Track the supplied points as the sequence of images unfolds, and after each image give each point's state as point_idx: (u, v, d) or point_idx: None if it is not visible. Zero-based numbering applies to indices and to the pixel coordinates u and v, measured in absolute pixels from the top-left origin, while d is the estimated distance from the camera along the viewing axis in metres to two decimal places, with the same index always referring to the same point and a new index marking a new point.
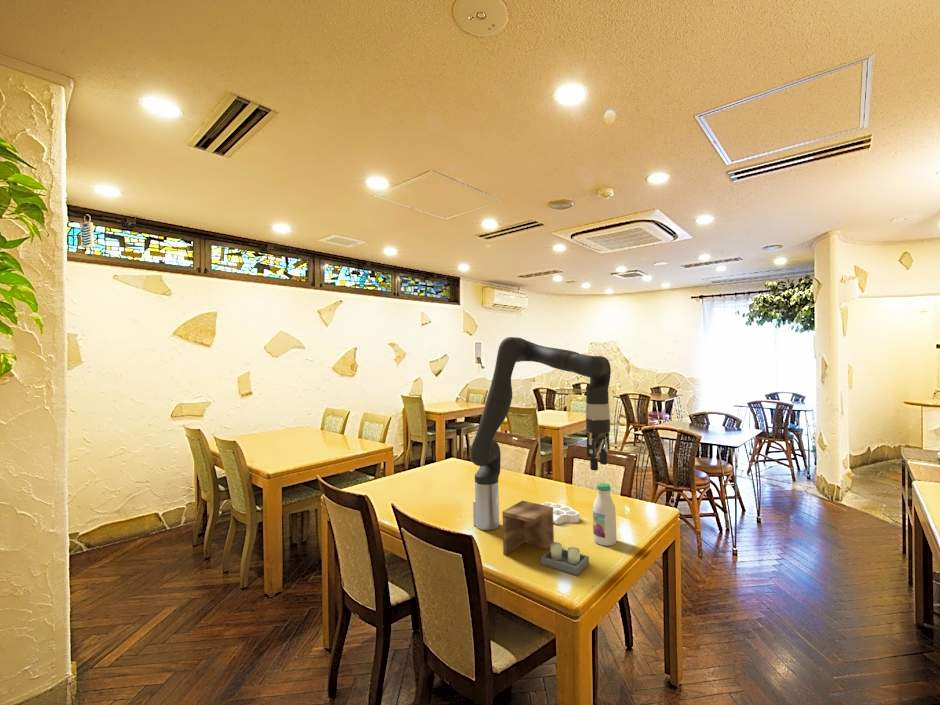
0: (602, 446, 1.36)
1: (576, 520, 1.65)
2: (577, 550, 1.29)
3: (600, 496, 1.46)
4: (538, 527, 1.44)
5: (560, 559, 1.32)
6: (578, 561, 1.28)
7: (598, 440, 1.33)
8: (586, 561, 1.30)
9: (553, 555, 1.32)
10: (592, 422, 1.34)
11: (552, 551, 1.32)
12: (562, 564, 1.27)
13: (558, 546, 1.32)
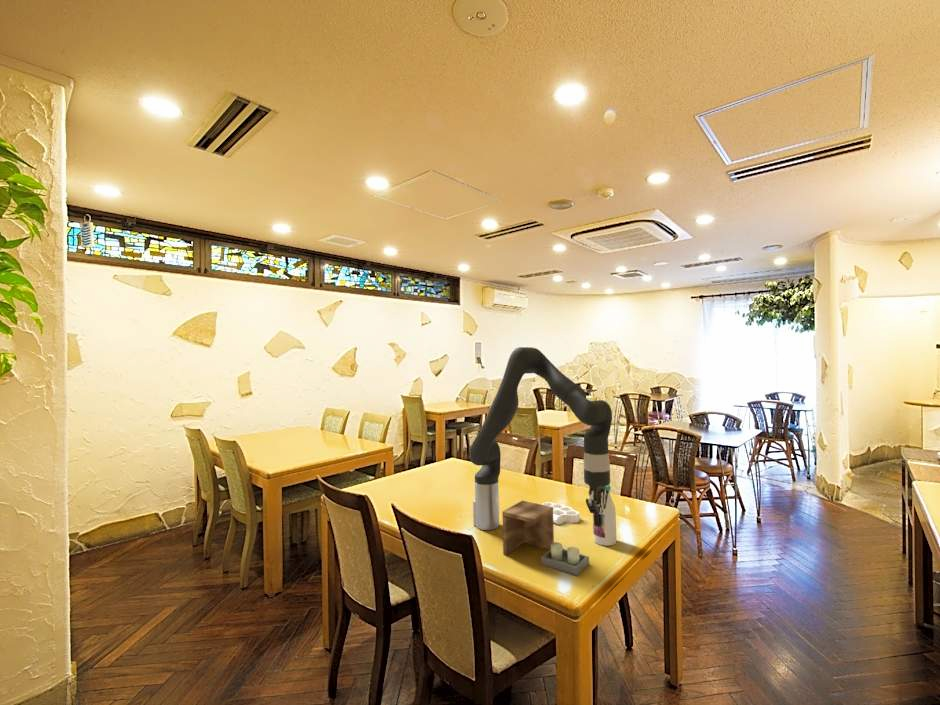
0: None
1: (576, 520, 1.65)
2: (577, 550, 1.29)
3: None
4: (538, 527, 1.44)
5: (560, 559, 1.32)
6: (578, 561, 1.28)
7: (597, 494, 1.22)
8: (586, 561, 1.30)
9: (553, 555, 1.32)
10: (590, 474, 1.23)
11: (552, 551, 1.32)
12: (562, 564, 1.27)
13: (558, 546, 1.32)
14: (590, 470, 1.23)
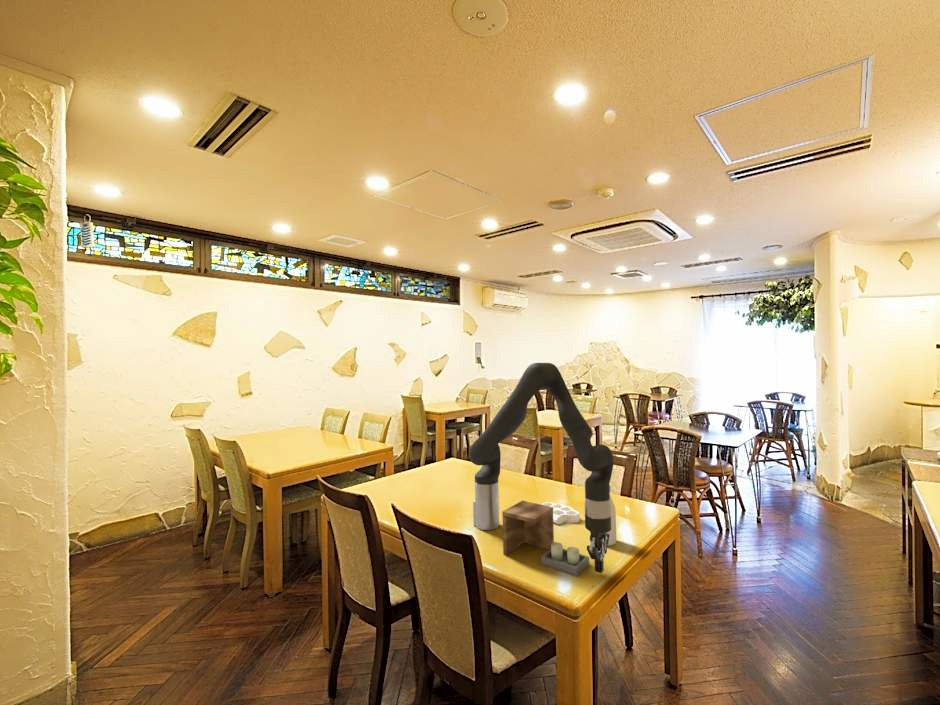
0: (602, 545, 1.25)
1: (576, 520, 1.65)
2: (576, 550, 1.29)
3: None
4: (538, 527, 1.44)
5: (560, 559, 1.32)
6: (577, 561, 1.28)
7: (598, 540, 1.22)
8: (586, 562, 1.30)
9: (553, 555, 1.32)
10: (591, 520, 1.22)
11: (552, 551, 1.32)
12: (561, 564, 1.27)
13: (558, 546, 1.32)
14: (591, 516, 1.22)
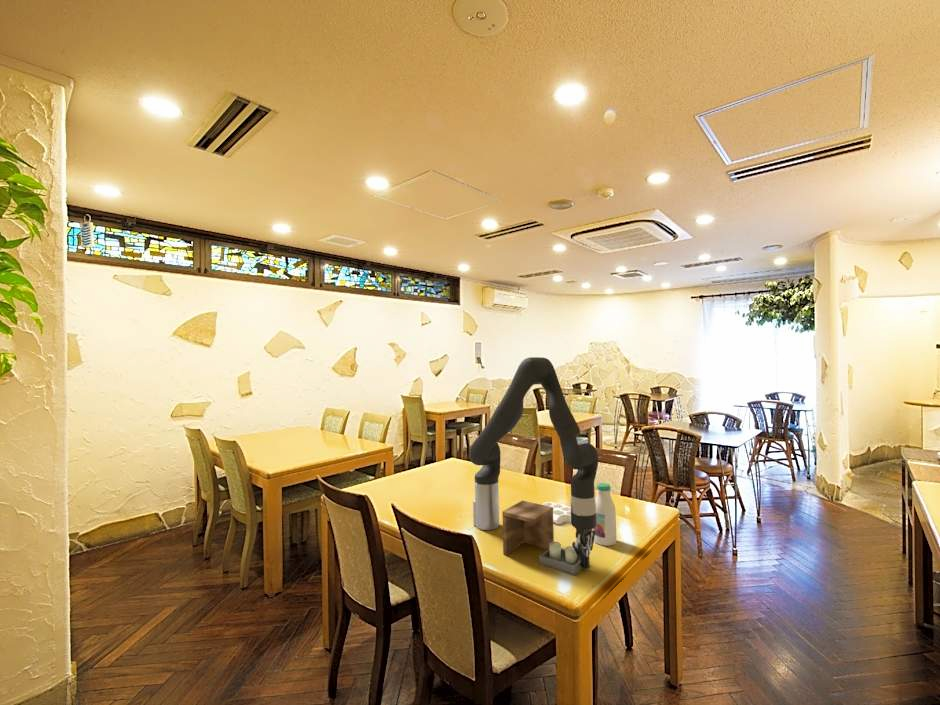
0: None
1: None
2: None
3: (600, 496, 1.46)
4: (538, 527, 1.44)
5: (559, 558, 1.32)
6: (575, 560, 1.29)
7: (583, 537, 1.25)
8: None
9: (552, 554, 1.32)
10: (577, 517, 1.25)
11: (551, 550, 1.33)
12: (560, 563, 1.28)
13: (557, 545, 1.32)
14: (576, 513, 1.25)
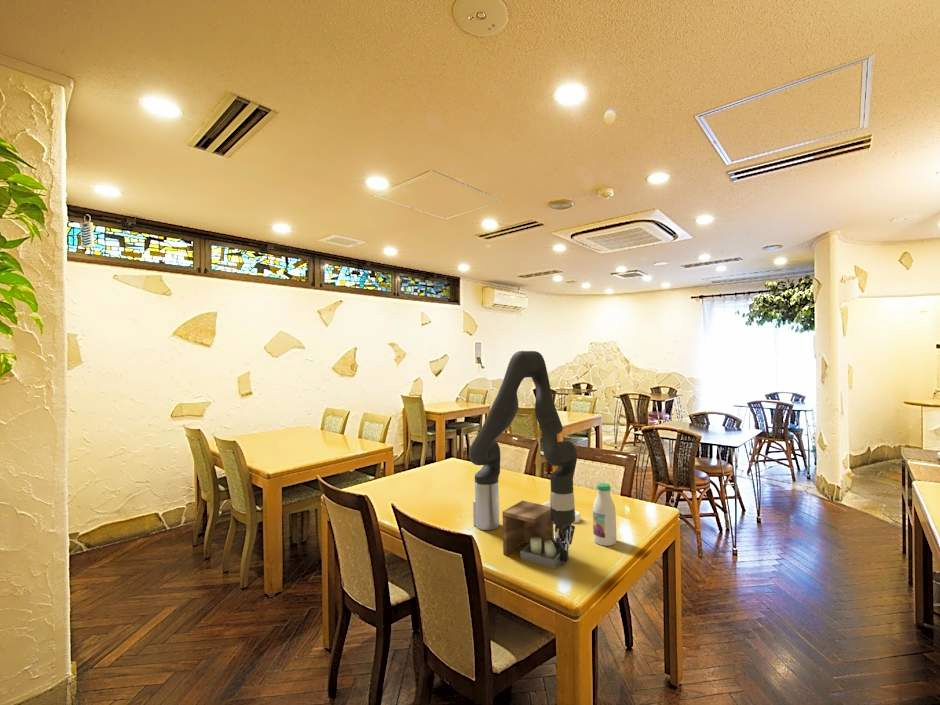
0: None
1: (576, 520, 1.65)
2: None
3: (600, 496, 1.46)
4: (538, 527, 1.44)
5: (539, 553, 1.36)
6: (554, 554, 1.33)
7: (562, 531, 1.29)
8: None
9: (533, 549, 1.36)
10: (556, 512, 1.29)
11: (532, 545, 1.36)
12: (540, 557, 1.32)
13: (537, 540, 1.36)
14: (555, 509, 1.29)
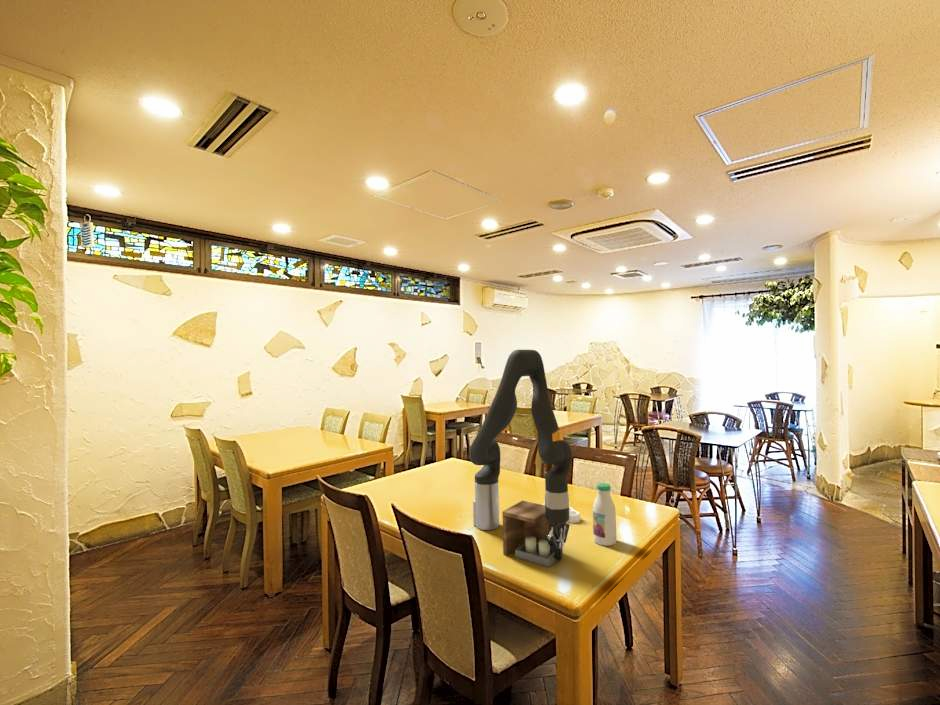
0: None
1: (576, 520, 1.65)
2: (547, 542, 1.35)
3: (600, 496, 1.46)
4: (538, 527, 1.44)
5: (534, 552, 1.37)
6: (548, 553, 1.34)
7: (556, 530, 1.30)
8: None
9: (527, 548, 1.37)
10: (550, 511, 1.30)
11: (526, 544, 1.37)
12: (534, 556, 1.33)
13: (532, 540, 1.37)
14: (550, 507, 1.30)
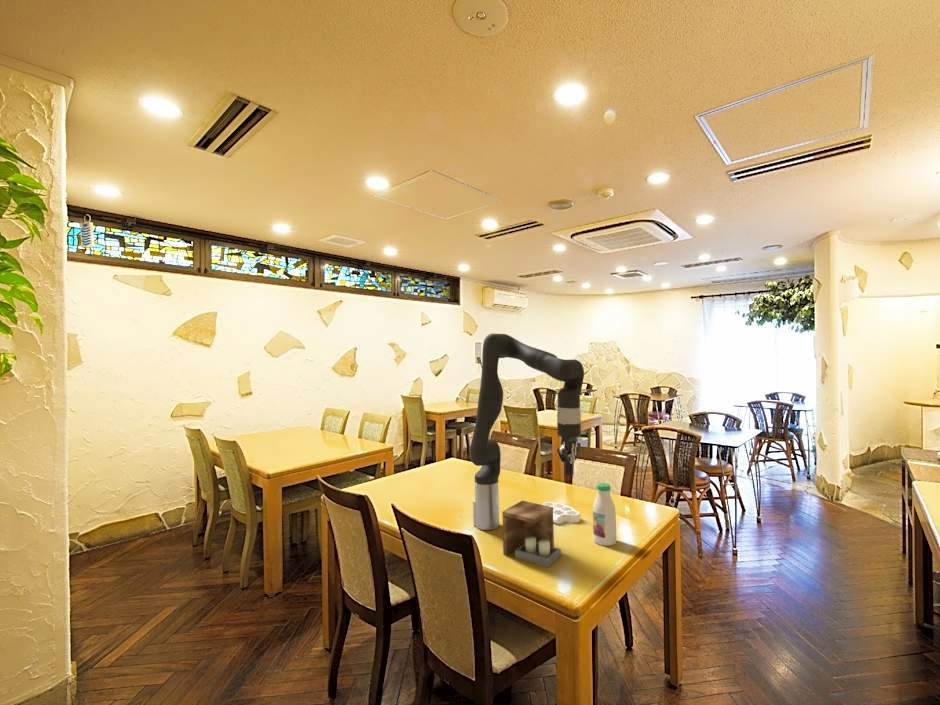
0: (573, 450, 1.35)
1: (576, 520, 1.65)
2: (547, 542, 1.35)
3: (600, 496, 1.46)
4: (538, 527, 1.44)
5: (534, 552, 1.37)
6: (548, 553, 1.34)
7: (568, 444, 1.33)
8: (558, 553, 1.35)
9: (527, 548, 1.37)
10: (562, 426, 1.33)
11: (526, 544, 1.37)
12: (534, 556, 1.32)
13: (532, 540, 1.37)
14: (562, 422, 1.33)
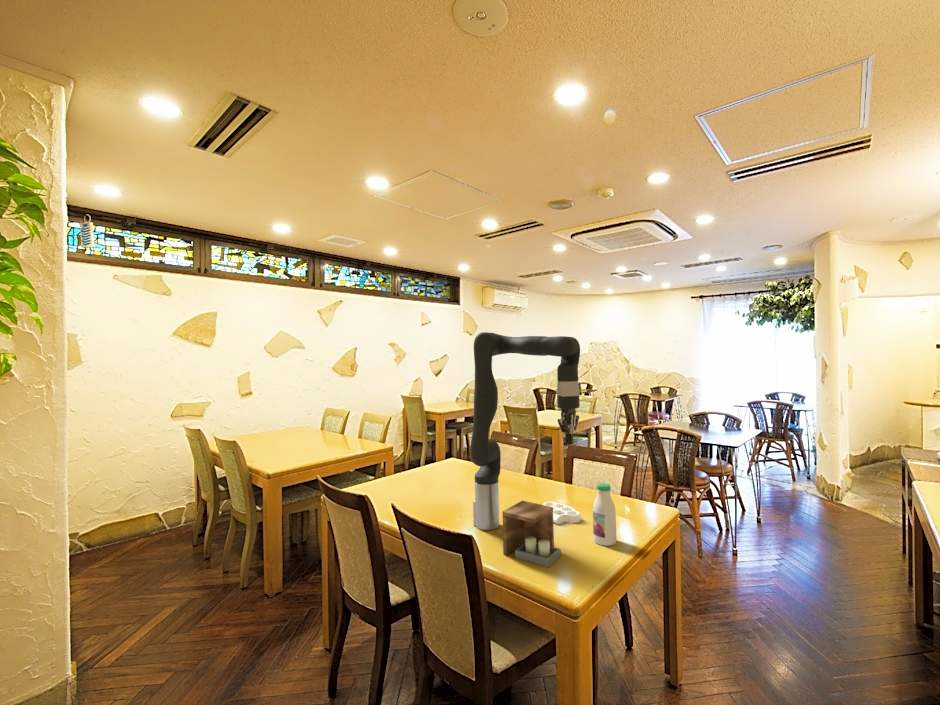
0: None
1: (577, 520, 1.65)
2: (547, 542, 1.35)
3: (600, 496, 1.46)
4: (538, 527, 1.44)
5: (534, 552, 1.37)
6: (548, 552, 1.34)
7: (568, 415, 1.42)
8: (558, 553, 1.36)
9: (527, 549, 1.37)
10: (562, 398, 1.42)
11: (526, 545, 1.37)
12: (535, 556, 1.32)
13: (532, 540, 1.37)
14: (562, 395, 1.42)
